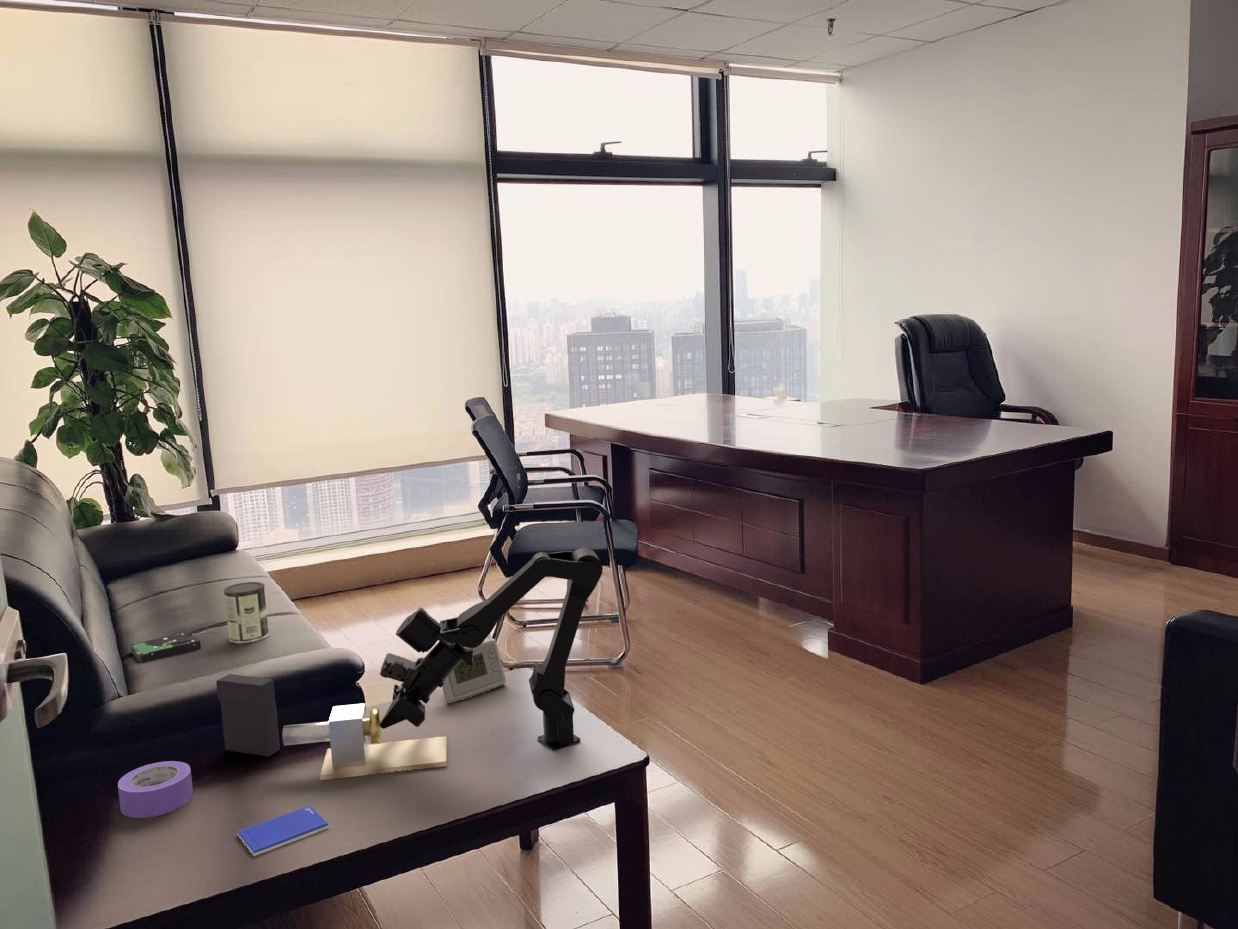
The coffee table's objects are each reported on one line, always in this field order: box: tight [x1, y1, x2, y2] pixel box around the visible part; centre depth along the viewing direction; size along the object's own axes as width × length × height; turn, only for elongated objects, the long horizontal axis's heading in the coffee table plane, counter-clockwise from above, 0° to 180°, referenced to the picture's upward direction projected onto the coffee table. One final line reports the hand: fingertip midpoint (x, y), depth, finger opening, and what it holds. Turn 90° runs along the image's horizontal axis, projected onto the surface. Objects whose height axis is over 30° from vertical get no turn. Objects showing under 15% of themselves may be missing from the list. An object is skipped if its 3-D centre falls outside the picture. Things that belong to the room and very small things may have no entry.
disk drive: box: [129, 631, 202, 663], centre depth 248 cm, size 10×3×15 cm
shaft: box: [282, 708, 383, 746], centre depth 180 cm, size 18×7×7 cm, turn 100°
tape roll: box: [117, 760, 194, 819], centre depth 169 cm, size 12×12×5 cm
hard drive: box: [236, 805, 329, 857], centre depth 158 cm, size 2×8×12 cm
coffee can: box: [223, 581, 270, 644], centre depth 255 cm, size 10×10×14 cm
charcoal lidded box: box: [215, 673, 281, 757], centre depth 187 cm, size 11×4×15 cm, turn 71°
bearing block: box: [328, 703, 369, 769], centre depth 180 cm, size 6×7×9 cm
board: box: [319, 736, 448, 781], centre depth 182 cm, size 23×11×1 cm, turn 100°
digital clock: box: [441, 637, 507, 704], centre depth 213 cm, size 16×9×11 cm, turn 122°
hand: (381, 726), depth 181 cm, fingers closed, pressing on shaft
